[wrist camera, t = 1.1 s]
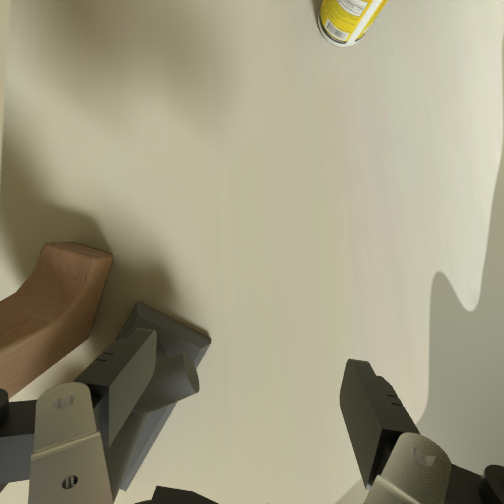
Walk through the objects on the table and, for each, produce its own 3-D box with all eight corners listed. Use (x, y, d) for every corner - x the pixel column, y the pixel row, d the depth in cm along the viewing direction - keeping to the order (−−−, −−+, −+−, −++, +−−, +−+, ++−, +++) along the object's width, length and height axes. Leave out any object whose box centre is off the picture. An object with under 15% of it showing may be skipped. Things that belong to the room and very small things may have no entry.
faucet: (189, 514, 32) (141, 977, 12) (51, 454, 30) (-283, 885, 10) (272, 367, 32) (362, 577, 12) (141, 298, 30) (-6, 413, 10)
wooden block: (69, 241, 29) (-168, 244, 11) (115, 254, 30) (-40, 278, 12) (42, 328, 29) (-236, 469, 11) (88, 339, 30) (-107, 492, 12)
